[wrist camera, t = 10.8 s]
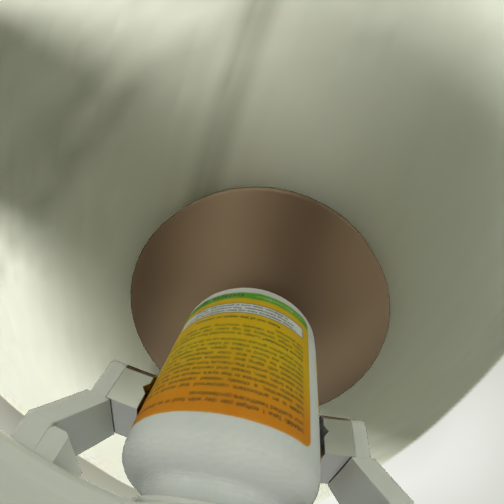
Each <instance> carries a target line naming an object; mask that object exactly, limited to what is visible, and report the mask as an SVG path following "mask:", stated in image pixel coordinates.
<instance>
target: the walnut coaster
mask: <svg viewBox="0 0 504 504" xmlns="http://www.w3.org/2000/svg"><path fill="white" fill-rule="evenodd" d="M234 288H256V289H261V290H265V291H269V292H271V293H274V294H276V295H278V296H281V297H282V298H284V299H286V300H287V301H289V302H290V303H292V304H293V305H294V306H295V307H296V308H298V310H299V311H300V312H301V313H302V314H303V315H304V317H305V318H306V319H307V321H308V323H309V325H310V327H311V329H312V332H313V336H314V342H315V349H316V363H317V381H318V401H319V405H322V404H324V403H326V402H329V401H330V400H332V399H334V398H336V397H338V396H339V395H341V394H342V393H344V392H345V391H346V390H348V389H349V388H351V387H352V386H353V385H354V384H355V383H356V382H357V381H358V380H359V379H361V378H362V377H363V375H364V374H365V373H366V372H367V371H368V369H369V368H370V367H371V366H372V364H373V362H374V361H375V359H376V358H377V356H378V354H379V352H380V350H381V348H382V345H383V343H384V341H385V337H386V333H387V330H388V325H389V316H390V302H389V293H388V288H387V283H386V280H385V277H384V274H383V272H382V269H381V266H380V264H379V263H378V261H377V259H376V257H375V256H374V254H373V252H372V250H371V249H370V247H369V246H368V244H367V242H366V241H365V240H364V239H363V237H362V236H361V235H360V234H359V232H358V231H357V230H356V229H355V228H354V227H353V226H352V225H351V224H350V223H349V222H348V221H347V220H346V219H345V218H343V217H342V216H341V215H339V214H338V213H337V212H335V211H334V210H332V209H331V208H329V207H328V206H326V205H324V204H322V203H320V202H318V201H316V200H314V199H312V198H310V197H307V196H304V195H301V194H298V193H295V192H292V191H287V190H282V189H276V188H268V187H245V188H234V189H229V190H225V191H221V192H217V193H214V194H211V195H209V196H206V197H203V198H201V199H199V200H197V201H195V202H193V203H191V204H190V205H188V206H186V207H184V208H183V209H182V210H180V211H179V212H177V213H176V214H175V215H174V216H172V217H171V218H170V219H168V220H167V221H166V222H165V223H163V224H162V225H161V226H160V228H159V229H158V230H157V231H156V232H155V233H154V234H153V235H152V236H151V238H150V239H149V241H148V242H147V244H146V245H145V247H144V248H143V250H142V252H141V254H140V256H139V259H138V261H137V263H136V266H135V270H134V273H133V277H132V285H131V308H132V314H133V320H134V323H135V326H136V330H137V333H138V335H139V337H140V339H141V341H142V344H143V346H144V347H145V349H146V351H147V352H148V354H149V355H150V357H151V358H152V360H153V361H154V362H155V363H156V365H157V366H158V367H159V368H160V369H162V367H163V365H164V364H165V362H166V360H167V358H168V356H169V354H170V352H171V350H172V348H173V346H174V344H175V342H176V340H177V339H178V337H179V335H180V333H181V331H182V329H183V327H184V325H185V323H186V321H187V320H188V318H189V316H190V315H191V313H192V312H193V310H194V309H195V308H196V307H197V306H198V305H199V304H200V303H201V302H202V301H204V300H205V299H206V298H208V297H210V296H211V295H213V294H215V293H218V292H221V291H224V290H228V289H234Z"/></svg>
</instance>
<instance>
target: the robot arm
mask: <svg viewBox="0 0 504 504" xmlns="http://www.w3.org/2000/svg"><path fill="white" fill-rule="evenodd" d="M156 379H157V376H156V375H153V374H150V373H147V372H145V371H142V370H140V369H137V368H134V367H132V366H129V365H126V364H124V363H121V362H119V361H116V360H114V361H112V362H111V363H110V364H109V366H108V367H107V369H106V370H105V371H104V373H103V374H102V376H101V377H100V378H99V380H98V381H97V383H96V384H95V385H94V387H93V388H92V390H91V391H90V390H87V389H86V390H84V391H81V392H78V393H76V394H73V395H70V396H68V397H65V398H62V399H59V400H57V401H54V402H51V403H48V404H45V405H42V406H40V407H37V408H34V409H31V410H29V411H28V412H27V414H26V415H25V416H24V417H23V419H22V420H21V422H20V423H19V424H18V425H17V426H16V428H15V429H14V430H13V432H12V433H11V434H10V435H7V434H6V433H5V432H3V431H2V430H0V504H142V503H140V502H137V501H134V500H132V499H129V498H126V497H124V496H121V495H119V494H116V493H114V492H111V491H109V490H107V489H104V488H102V487H100V486H98V485H95V484H93V483H91V482H89V481H87V480H85V479H83V478H81V477H80V476H81V474H82V471H81V468H80V466H79V463H78V461H77V458H76V455H78V454H80V453H82V452H84V451H85V450H87V449H89V448H91V447H92V446H94V445H96V444H98V443H99V442H101V441H103V440H105V439H106V438H108V437H110V436H112V435H113V434H114V432H115V433H117V434H120V435H123V436H125V437H127V436H128V434H129V431H130V429H131V427H132V425H133V423H134V421H135V419H136V417H137V415H138V413H139V412H140V410H141V408H142V406H143V404H144V402H145V400H146V398H147V396H148V394H149V392H150V390H151V389H152V387H153V385H154V383H155V381H156ZM319 425H320V452H321V474H320V483H325V484H328V486H329V488H330V490H331V491H332V493H333V494H334V496H335V498H336V499H337V501H338V503H339V504H414V501H413V500H411V498H410V497H409V496H408V495H407V494H406V493H405V492H404V491H403V489H402V488H401V487H400V486H399V485H398V484H397V483H396V482H395V481H394V480H393V478H392V477H390V475H389V474H388V473H387V472H386V471H385V470H384V469H383V467H382V466H381V465H380V464H379V463H378V462H377V461H376V460H375V459H372V458H371V456H370V450H369V443H368V438H367V432H366V426H365V423H364V421H360V420H351V419H344V418H336V417H328V416H320V417H319Z"/></svg>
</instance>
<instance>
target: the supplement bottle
mask: <svg viewBox="0 0 504 504" xmlns="http://www.w3.org/2000/svg"><path fill="white" fill-rule="evenodd" d="M122 463H123V467H124V470H125V473H126V475H127V478H128V479H129V481H130V482H131V484H132V485H133V486H134V488H135V489H136V490H137V491H138V492H139V493H140V494H141V496H137V497H135V498H132V500H134V501H137V502H140V503H142V504H313V503H314V501H315V499H316V497H317V494H318V491H319V486H320V474H321V452H320V425H319V401H318V381H317V363H316V349H315V342H314V336H313V332H312V329H311V327H310V325H309V323H308V321H307V319H306V318H305V317H304V315H303V314H302V313H301V312H300V311H299V310H298V308H296V307H295V306H294V305H293V304H292V303H290V302H289V301H287V300H286V299H284V298H282V297H281V296H278V295H276V294H274V293H271V292H269V291H265V290H261V289H256V288H234V289H228V290H224V291H221V292H218V293H215V294H213V295H211V296H210V297H208V298H206V299H205V300H204V301H202V302H201V303H200V304H199V305H198V306H197V307H196V308H195V309H194V310H193V312H192V313H191V315H190V316H189V318H188V320H187V321H186V323H185V325H184V327H183V329H182V331H181V333H180V335H179V337H178V339H177V340H176V342H175V344H174V346H173V348H172V350H171V352H170V354H169V356H168V358H167V360H166V362H165V364H164V365H163V367H162V369H161V371H160V373H159V375H158V377H157V379H156V381H155V383H154V385H153V387H152V389H151V390H150V392H149V394H148V396H147V398H146V400H145V402H144V404H143V406H142V408H141V410H140V412H139V413H138V415H137V417H136V419H135V421H134V423H133V425H132V427H131V429H130V431H129V434H128V436H127V439H126V441H125V444H124V447H123V453H122Z"/></svg>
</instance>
